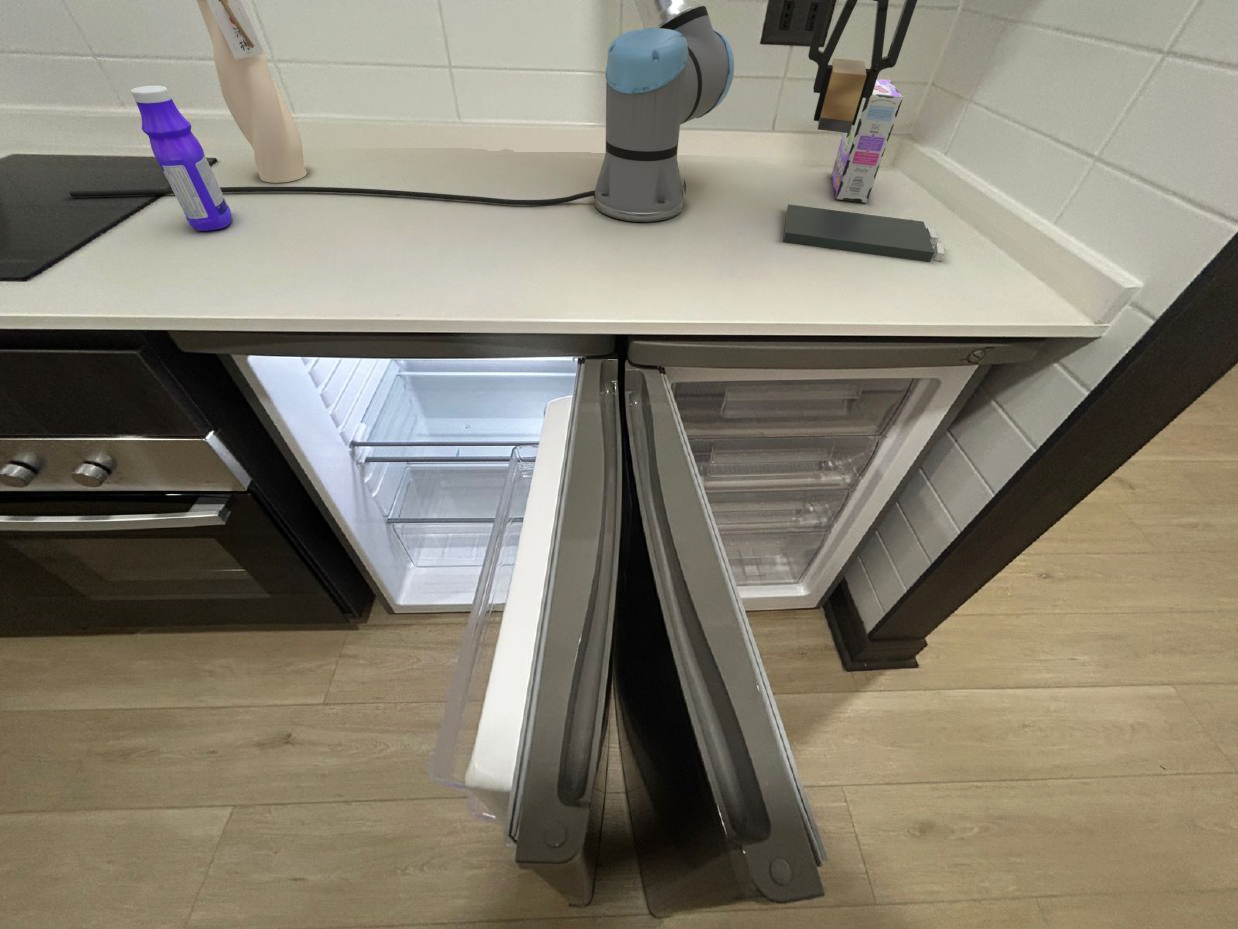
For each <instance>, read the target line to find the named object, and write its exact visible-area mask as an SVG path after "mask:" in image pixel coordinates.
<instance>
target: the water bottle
mask: <svg viewBox="0 0 1238 929" xmlns="http://www.w3.org/2000/svg"><path fill="white" fill-rule="evenodd" d="M196 3H197V5H198V9H199V11H200V13H201V16H202V19H203V22H204V25H205V27H206V30H207V32H208V35H209V38H210V40H211V43H212V49H213V50H212V51H213V52H212V53H213V60H214V61H213V62H214V66H215V70H216V75H217V78H218V82H219V83H218V84H219V87H220V91H221V94H222V97H223V100H224V102H225V104H226V106H227V108H228V110H229V113H230V114H231V116H232V118H233V121H235V124H236V125H237V127H238V129H239V130H240V132H241V133H242V135H243V137H244V138H245V139H246V140H247V142H248V144H249V145H250V146H251V147H252V149H253V152H254V155H253V156H254V162H255V165H256V170H257V172H258V176H259V179H260V180H261V181H263V182H266V183H270V184H271V183H274V184H281V183H289V182H294V181H298V180H301V179H303V178H305V176H307V173H308V172H307V169H306V166H305V161H304V151H303V150H304V149H303V142H302V139H301V134H300V132H299V130H298V126H297V124H296V121H295V119H294V117H293V114H292V112H291V110H290V108H289V106H288V105H287V102H286V100H285V98H284V96H283V94H282V92H281V91H280V89H279V88H278V86H277V84H276V82H275V80H274V78H273V77H272V73H271V70H270V68H269V64H268V61H267V58H266V56H265V54H266V53H265V51H264V48H263V47H262V44H261V42H260V40H259V38H258V35H257V33H256V30H255V28H254V27H253V24H252V23H251V20H250V18H249V15H248V14H247V11H246V9H245V6H244V5H243V2H242V0H196Z"/></svg>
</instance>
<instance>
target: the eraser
mask: <svg viewBox="0 0 1238 929" xmlns="http://www.w3.org/2000/svg"><path fill="white" fill-rule="evenodd" d="M831 65H832V72H831V76H830V79H829V83H828V87H827V91H826V95H825V99H824V103H823V106H822V110H821V114H820V118H819V121H817V130H819V131H827V132H835V133H842V134H843V133H850V129H851V126H852V123H853V119H854V116H855V112H856V109H857V106H858V102H859V99H860V96H861V92H862V89H863V86H864V82H865V79H866V76H867V75H866V69H867V68H866V63H865V61H864V60H856V59H855V60H854V59H846V58H837V57H834V58H832V62H831ZM865 68H866V69H865Z"/></svg>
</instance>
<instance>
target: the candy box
mask: <svg viewBox="0 0 1238 929" xmlns="http://www.w3.org/2000/svg"><path fill="white" fill-rule="evenodd" d="M903 100H904V96H902V95H901V93H900V92H899V90H898V89H897V88H896V86H895V85H894V83H893V82H892V80H891V79H883V78H877V80H876V84H875V87H874V90H873V93H872V95H871V97H870V98H863V99H862V103H861V106H860V109H859V113H858V116H857V119H856V122H855V126H854V125H852V126H851V129H850V133H843V132H842V136H841V139H840V143H839V146H838V151H837V153H836V157H835V161H834V164H833V168H832V172H831V175H830V177H831V182H832V187H833V190H834V191H833V192H834V196H835V199H836V200H840V201H849V202H857V203H863V204H866V203H868V201H869V198H870V195H871V192H872V189H873V186H874V183H875V180H876V177H877V174H878V171H879V169H880V165H881V162H882V160H883V156H884V154H885V151H886V149H887V144H888V143H889V140H890V137H891V134H892V131H893V128H894V125H895V123H896V121H897V120H896V119H897V117H898V114H899V111H900V108H901V105H902V103H903Z"/></svg>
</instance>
